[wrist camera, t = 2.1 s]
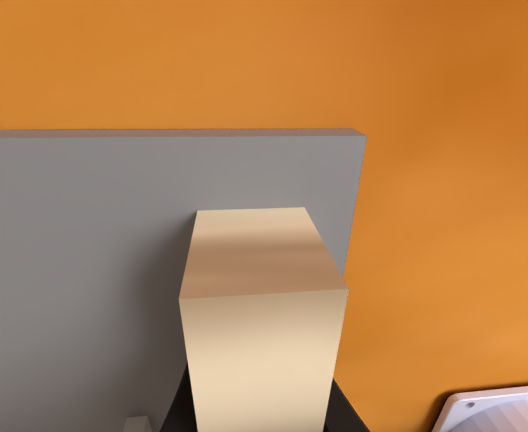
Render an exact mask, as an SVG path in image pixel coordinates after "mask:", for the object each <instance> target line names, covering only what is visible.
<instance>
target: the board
mask: <svg viewBox="0 0 528 432" xmlns="http://www.w3.org/2000/svg"><path fill="white" fill-rule="evenodd" d="M366 139H367V136H366V135H364V134H362V133H360V132H358V131H356V130H354V129H91V130H0V432H159V431H160V429H161V427H162V425H163V423H164V420H165V418H166V416H167V414H168V411H169V409H170V407H171V404H172V402H173V400H174V397H175V395H176V392H177V390H178V387H179V385H180V382H181V379H182V376H183V373H184V370H185V367H186V364H187V353H186V346H185V339H184V332H183V325H182V318H181V312H180V305H179V296H180V291H181V286H182V281H183V277H184V272H185V267H186V263H187V258H188V253H189V248H190V244H191V239H192V234H193V230H194V225H195V220H196V215H197V211H202V210H234V209H267V208H299V207H305V209H306V211H307V213H308V215H309V216H310V218H311V220H312V222H313V224H314V226H315V227H316V229H317V231H318V233H319V235H320V237H321V238H322V240H323V242H324V244H325V246H326V248H327V249H328V251H329V253H330V255H331V257H332V258H333V260H334V262H335V264H336V266H337V268H338V269H339V271H340V273H341V275H342V277H343V275H344V269H345V263H346V257H347V251H348V245H349V239H350V233H351V227H352V222H353V216H354V210H355V204H356V198H357V192H358V186H359V180H360V174H361V168H362V162H363V157H364V151H365V145H366Z"/></svg>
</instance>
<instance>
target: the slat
mask: <svg viewBox="0 0 528 432" xmlns="http://www.w3.org/2000/svg"><path fill="white" fill-rule="evenodd" d="M348 292H349V288H348V286H347V284H346V282H345V280H344V279H343V277H342V275H341V273H340V271H339V269H338V268H337V266H336V264H335V262H334V260H333V258H332V257H331V255H330V253H329V251H328V249H327V248H326V246H325V244H324V242H323V240H322V238H321V237H320V235H319V233H318V231H317V229H316V227H315V226H314V224H313V222H312V220H311V218H310V216H309V215H308V213H307V211H306V209H305V207H299V208H267V209H234V210H202V211H197V215H196V220H195V225H194V230H193V234H192V239H191V244H190V248H189V253H188V258H187V263H186V267H185V272H184V277H183V281H182V286H181V291H180V296H179V305H180V312H181V318H182V325H183V332H184V339H185V346H186V353H187V360H188V367H189V374H190V380H191V387H192V394H193V401H194V408H195V415H196V422H197V429H198V432H323V427H324V422H325V417H326V411H327V406H328V400H329V395H330V390H331V384H332V379H333V373H334V368H335V362H336V357H337V352H338V346H339V341H340V335H341V330H342V325H343V319H344V314H345V308H346V303H347V297H348Z"/></svg>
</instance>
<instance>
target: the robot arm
mask: <svg viewBox="0 0 528 432" xmlns="http://www.w3.org/2000/svg"><path fill="white" fill-rule="evenodd" d="M159 432H198V429H197V422H196V415H195V408H194V401H193V394H192V387H191V380H190V374H189V367H188V360H187V364H186V367H185V370H184V373H183V376H182V379H181V382H180V385H179V387H178V390H177V392H176V395H175V397H174V400H173V402H172V404H171V407H170V409H169V411H168V414H167V416H166V418H165V420H164V423H163V425H162V427H161V429H160V431H159ZM323 432H370V431H369V429H368V428H367V427H366V425H365V424H364V423H363V421H362V420H361V419H360V417H359V416H358V414H357V413H356V412H355V410H354V409H353V407H352V406H351V404H350V403H349V401H348V400H347V398H346V397H345V396H344V394H343V393H342V391H341V389H340V388H339V386H338V385H337V383H336V382H335V380H334V378H333V379H332V384H331V390H330V395H329V400H328V406H327V411H326V417H325V422H324V427H323ZM432 432H528V386H522V387H512V388H502V389H493V390H483V391H473V392H464V393H456V394H453V395H451V396H450V397H449V398H448V399H447V401H446V403H445V405H444V407H443V409H442V411H441V413H440V415H439V418H438V420H437V422H436V424H435V426H434V428H433V430H432Z"/></svg>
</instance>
